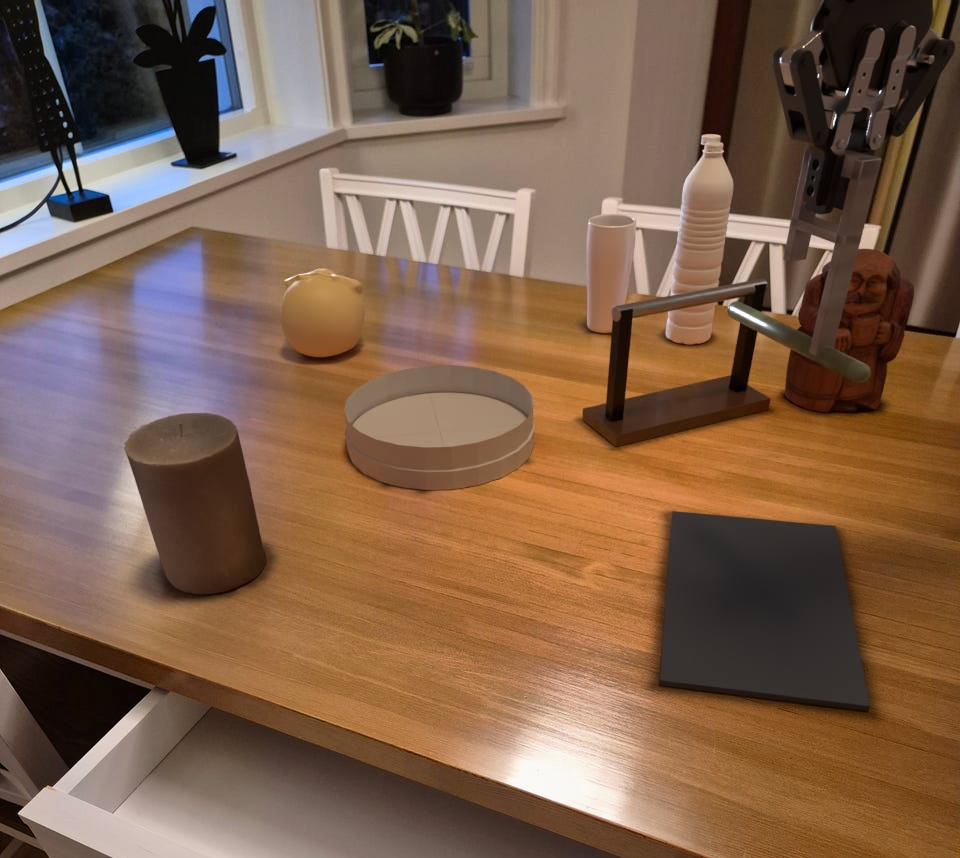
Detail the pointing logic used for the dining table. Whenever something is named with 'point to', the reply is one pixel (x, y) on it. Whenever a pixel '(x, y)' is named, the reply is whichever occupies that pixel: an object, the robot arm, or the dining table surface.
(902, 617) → the dining table surface
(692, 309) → the water bottle
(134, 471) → the pillar candle
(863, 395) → the wooden figurine
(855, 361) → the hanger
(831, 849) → the dining table surface
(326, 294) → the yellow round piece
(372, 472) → the dish
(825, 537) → the mat
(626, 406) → the rail stand
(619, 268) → the drinking glass
